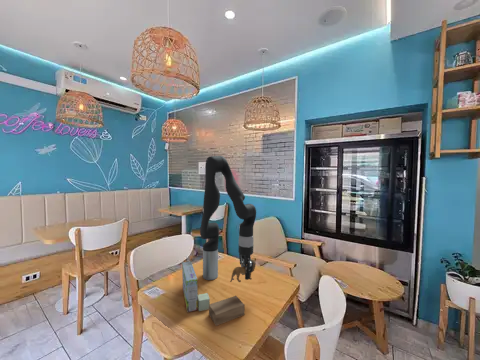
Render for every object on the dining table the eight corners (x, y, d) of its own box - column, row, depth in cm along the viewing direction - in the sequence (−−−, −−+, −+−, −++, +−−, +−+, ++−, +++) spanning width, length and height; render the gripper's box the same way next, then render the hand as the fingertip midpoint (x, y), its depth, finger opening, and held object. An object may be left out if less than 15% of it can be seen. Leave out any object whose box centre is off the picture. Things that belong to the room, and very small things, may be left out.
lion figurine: (251, 273, 112) (252, 256, 111) (257, 277, 107) (258, 260, 107) (227, 280, 104) (227, 262, 104) (232, 285, 99) (233, 267, 99)
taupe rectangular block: (208, 315, 95) (208, 304, 94) (235, 305, 102) (235, 295, 101) (215, 326, 88) (215, 314, 88) (244, 315, 95) (244, 304, 95)
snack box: (181, 289, 115) (181, 262, 115) (192, 287, 117) (191, 260, 117) (186, 313, 96) (186, 280, 95) (198, 310, 98) (198, 278, 97)
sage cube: (197, 305, 102) (197, 294, 102) (207, 302, 103) (207, 293, 103) (198, 311, 97) (198, 300, 97) (209, 309, 99) (209, 298, 98)
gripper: (234, 240, 111) (234, 271, 112) (244, 249, 97) (243, 285, 98) (247, 238, 113) (247, 269, 114) (258, 248, 100) (258, 282, 101)
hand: (245, 276), depth 106 cm, fingers closed on lion figurine, 4 cm apart
